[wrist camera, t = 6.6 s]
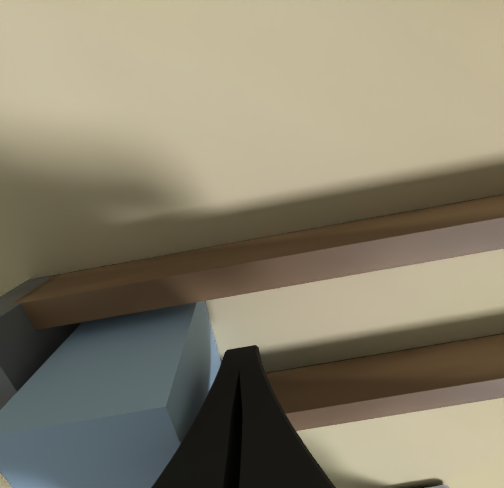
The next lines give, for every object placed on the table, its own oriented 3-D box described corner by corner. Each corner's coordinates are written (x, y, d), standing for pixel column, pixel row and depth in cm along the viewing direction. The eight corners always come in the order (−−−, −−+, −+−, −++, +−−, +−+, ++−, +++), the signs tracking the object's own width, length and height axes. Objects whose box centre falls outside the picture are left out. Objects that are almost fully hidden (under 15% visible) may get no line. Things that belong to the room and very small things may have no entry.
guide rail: (555, 342, 14) (669, 412, 10) (100, 417, 15) (52, 510, 11) (599, 177, 11) (783, 190, 7) (28, 279, 12) (-72, 340, 8)
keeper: (223, 370, 14) (210, 520, 8) (131, 385, 14) (57, 544, 8) (200, 288, 12) (166, 406, 7) (96, 306, 12) (-27, 438, 7)
